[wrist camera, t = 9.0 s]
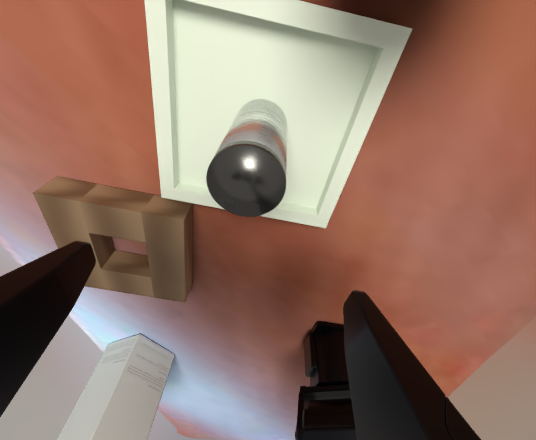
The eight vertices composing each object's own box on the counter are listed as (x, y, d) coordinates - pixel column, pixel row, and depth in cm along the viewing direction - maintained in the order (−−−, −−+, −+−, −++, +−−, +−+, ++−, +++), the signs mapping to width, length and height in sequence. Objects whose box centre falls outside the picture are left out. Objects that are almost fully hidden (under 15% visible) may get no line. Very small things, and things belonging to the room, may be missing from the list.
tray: (401, 27, 14) (412, 28, 12) (323, 216, 22) (325, 228, 20) (154, -34, 13) (141, -39, 12) (168, 187, 21) (161, 197, 20)
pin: (293, 105, 16) (294, 156, 10) (280, 155, 18) (276, 222, 12) (238, 93, 16) (208, 137, 10) (233, 146, 18) (204, 208, 12)
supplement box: (107, 342, 39) (44, 454, 29) (141, 332, 36) (85, 451, 26) (144, 362, 42) (100, 468, 32) (177, 354, 40) (140, 466, 30)
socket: (193, 201, 21) (183, 220, 20) (192, 282, 28) (185, 302, 26) (57, 176, 21) (32, 192, 19) (89, 265, 27) (74, 284, 26)
